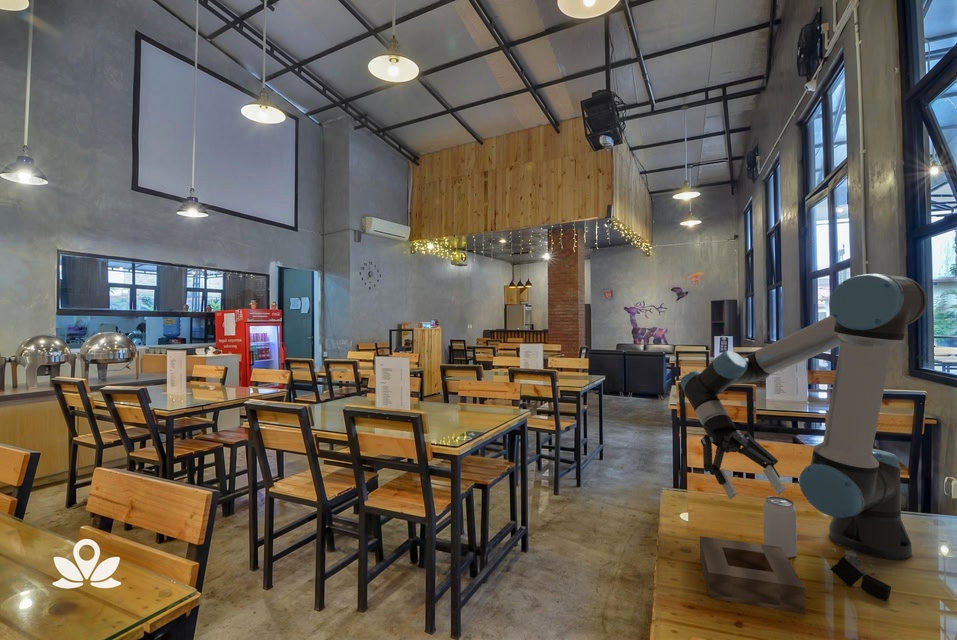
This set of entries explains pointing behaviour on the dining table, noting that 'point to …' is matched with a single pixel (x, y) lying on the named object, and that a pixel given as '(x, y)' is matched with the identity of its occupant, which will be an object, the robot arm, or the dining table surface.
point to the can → (780, 524)
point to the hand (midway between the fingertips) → (757, 494)
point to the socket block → (751, 574)
